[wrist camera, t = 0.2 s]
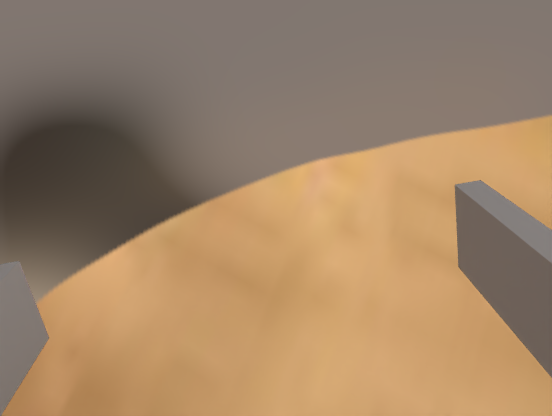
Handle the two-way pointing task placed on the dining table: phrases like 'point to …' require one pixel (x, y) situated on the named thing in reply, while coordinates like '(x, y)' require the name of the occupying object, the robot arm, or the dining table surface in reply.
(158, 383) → the dining table surface
